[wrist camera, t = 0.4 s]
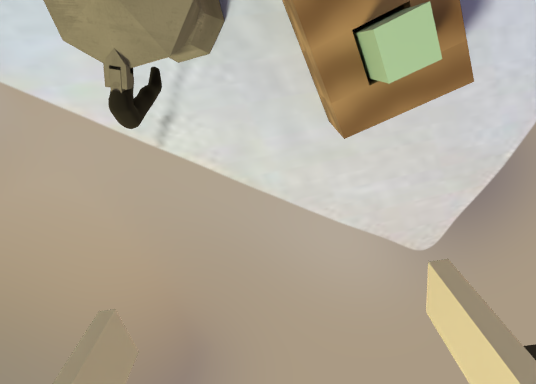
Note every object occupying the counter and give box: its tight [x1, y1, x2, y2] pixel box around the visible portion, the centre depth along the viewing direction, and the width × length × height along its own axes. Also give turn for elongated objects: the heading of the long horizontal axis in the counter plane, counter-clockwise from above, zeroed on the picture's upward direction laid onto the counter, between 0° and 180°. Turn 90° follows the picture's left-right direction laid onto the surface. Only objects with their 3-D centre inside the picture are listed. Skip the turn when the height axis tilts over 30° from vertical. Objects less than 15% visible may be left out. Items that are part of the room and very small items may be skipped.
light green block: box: [353, 1, 442, 84], centre depth 25 cm, size 4×4×8 cm
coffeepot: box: [44, 0, 224, 129], centre depth 24 cm, size 15×9×18 cm, turn 172°
